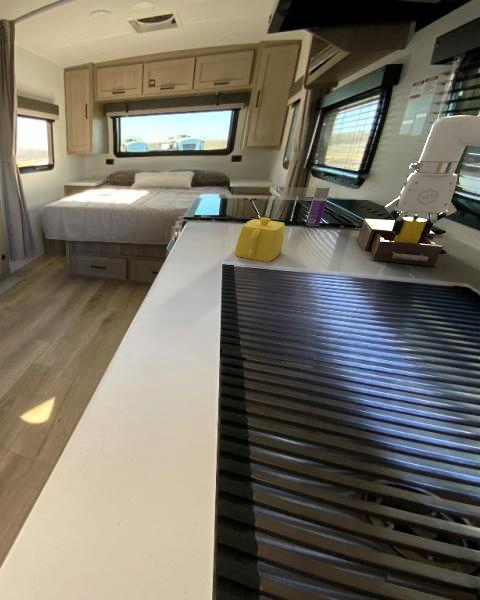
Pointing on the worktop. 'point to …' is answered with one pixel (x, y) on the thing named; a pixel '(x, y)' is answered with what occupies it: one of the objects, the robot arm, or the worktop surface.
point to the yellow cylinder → (411, 229)
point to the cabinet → (377, 226)
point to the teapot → (260, 240)
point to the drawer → (404, 250)
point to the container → (317, 206)
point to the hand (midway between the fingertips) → (408, 234)
